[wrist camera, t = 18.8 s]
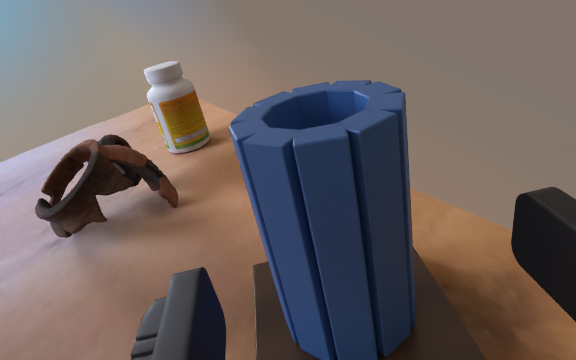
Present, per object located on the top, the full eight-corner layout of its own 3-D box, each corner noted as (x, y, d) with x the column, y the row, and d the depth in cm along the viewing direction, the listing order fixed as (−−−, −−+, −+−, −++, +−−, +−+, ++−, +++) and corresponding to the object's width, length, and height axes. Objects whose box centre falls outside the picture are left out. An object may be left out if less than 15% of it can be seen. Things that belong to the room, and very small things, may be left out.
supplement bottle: (219, 136, 47) (195, 57, 42) (190, 155, 43) (160, 71, 38) (188, 135, 49) (162, 60, 45) (159, 153, 45) (126, 74, 41)
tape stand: (492, 395, 15) (514, 188, 10) (267, 446, 15) (188, 263, 10) (404, 250, 22) (394, 98, 18) (258, 283, 22) (212, 140, 18)
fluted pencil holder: (383, 392, 14) (352, 154, 9) (260, 329, 18) (194, 136, 13) (435, 284, 18) (432, 78, 13) (325, 251, 22) (292, 81, 17)
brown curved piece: (192, 224, 31) (106, 172, 25) (111, 288, 32) (12, 253, 27) (175, 144, 39) (108, 92, 34) (112, 198, 41) (37, 156, 35)
